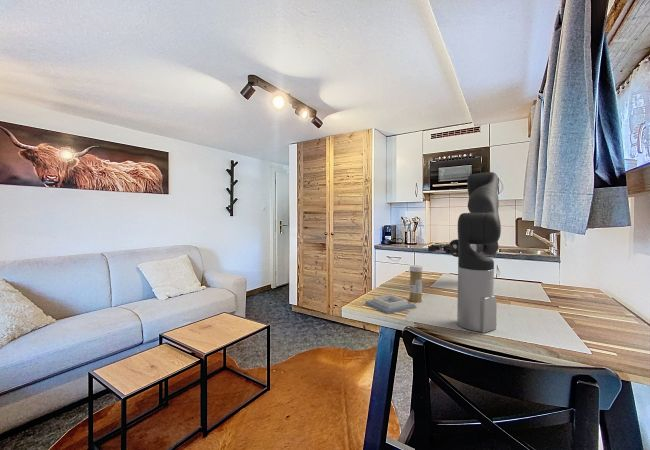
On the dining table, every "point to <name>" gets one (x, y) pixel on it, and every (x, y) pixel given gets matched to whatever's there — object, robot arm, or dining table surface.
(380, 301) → the grey stepped square plate
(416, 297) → the sprinkles bottle
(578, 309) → the dining table surface
